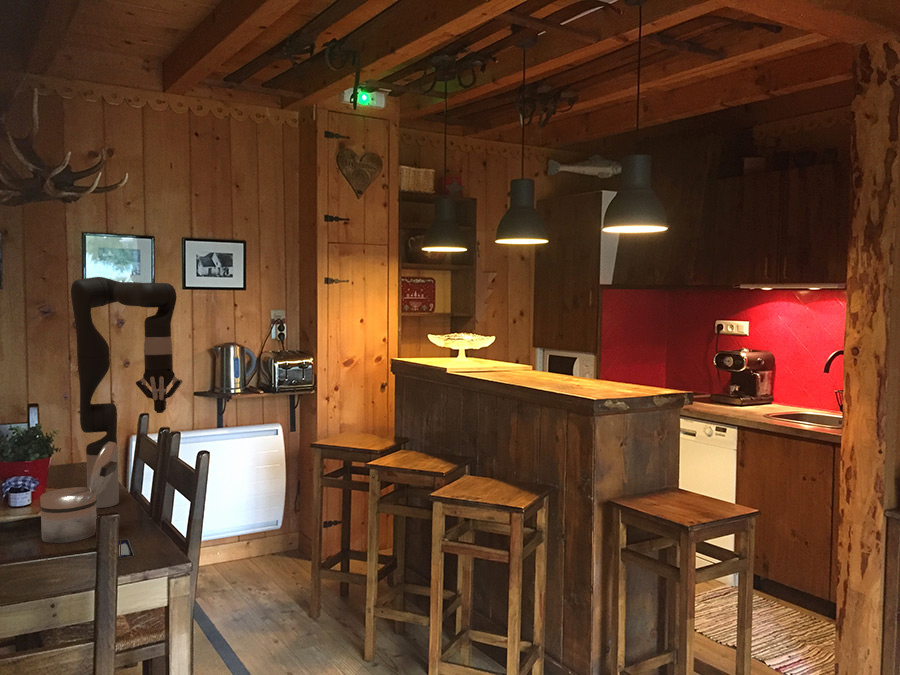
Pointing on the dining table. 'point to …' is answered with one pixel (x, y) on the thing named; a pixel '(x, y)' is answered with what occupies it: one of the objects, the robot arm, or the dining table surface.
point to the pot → (68, 514)
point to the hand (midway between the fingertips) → (160, 412)
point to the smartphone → (125, 548)
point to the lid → (103, 467)
